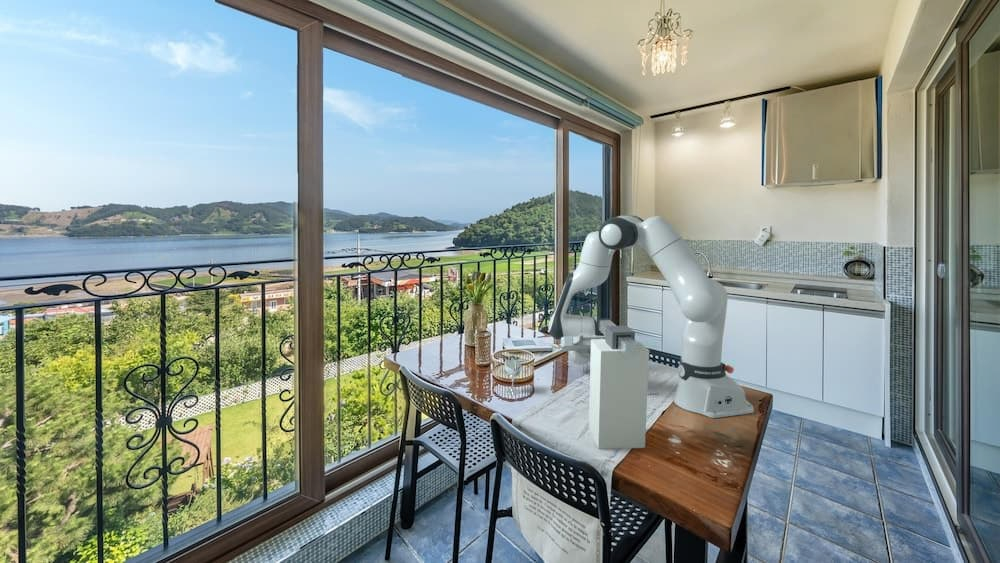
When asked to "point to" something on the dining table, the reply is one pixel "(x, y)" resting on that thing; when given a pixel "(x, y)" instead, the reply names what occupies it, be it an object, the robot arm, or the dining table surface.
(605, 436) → the tall white pillar
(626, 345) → the angular gray block
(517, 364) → the wineglass
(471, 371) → the dining table surface
